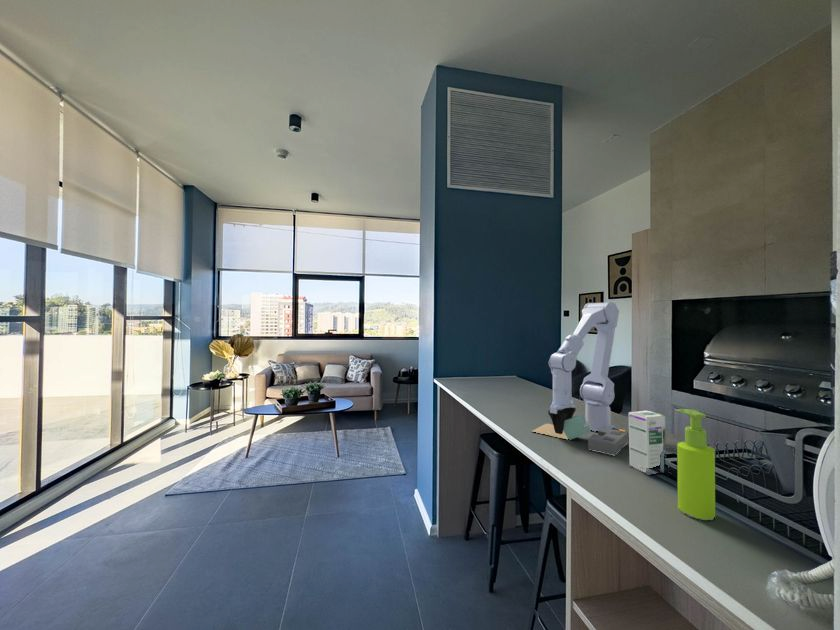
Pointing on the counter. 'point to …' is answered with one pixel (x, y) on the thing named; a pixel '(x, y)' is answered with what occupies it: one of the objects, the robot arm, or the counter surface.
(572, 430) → the charger
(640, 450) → the syrup box
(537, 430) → the cork mat
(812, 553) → the counter surface
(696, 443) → the soap dispenser
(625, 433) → the power strip
